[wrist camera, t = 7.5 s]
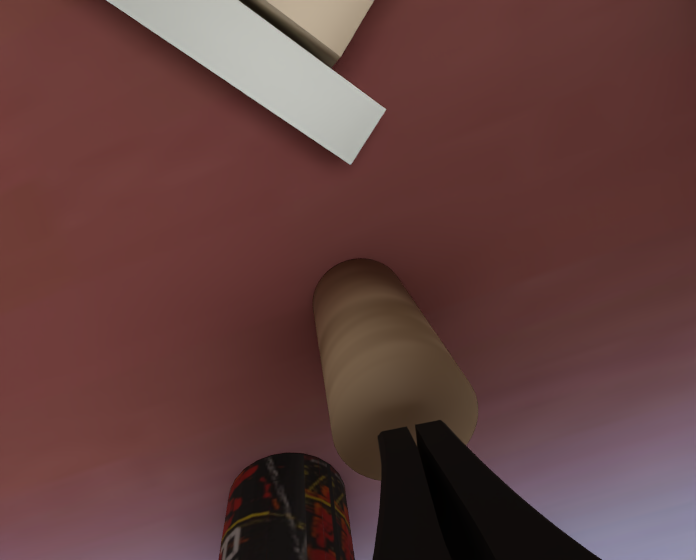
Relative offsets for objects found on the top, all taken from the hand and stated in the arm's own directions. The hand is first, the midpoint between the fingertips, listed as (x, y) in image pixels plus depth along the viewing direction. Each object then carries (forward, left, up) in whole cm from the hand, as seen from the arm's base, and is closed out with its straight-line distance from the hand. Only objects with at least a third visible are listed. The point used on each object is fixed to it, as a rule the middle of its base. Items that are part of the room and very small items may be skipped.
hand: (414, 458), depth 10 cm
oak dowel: (0, 0, -9) cm, 9 cm away
